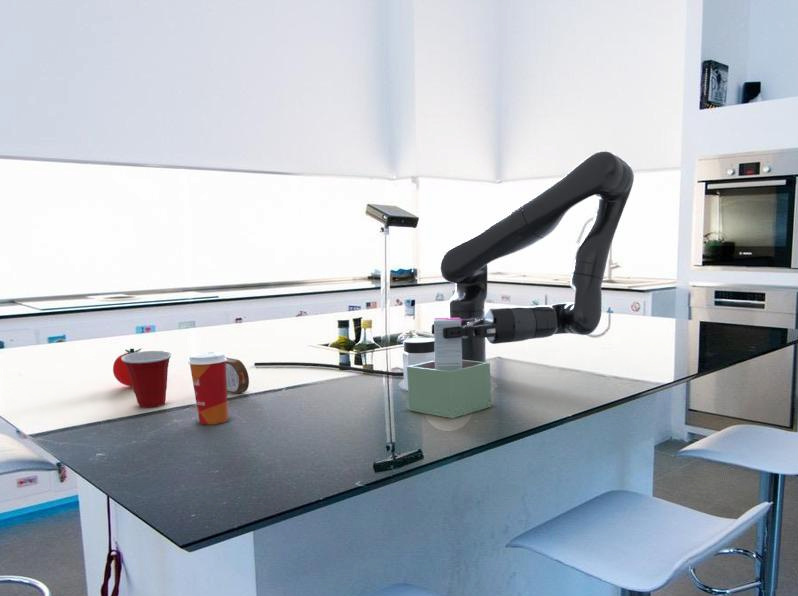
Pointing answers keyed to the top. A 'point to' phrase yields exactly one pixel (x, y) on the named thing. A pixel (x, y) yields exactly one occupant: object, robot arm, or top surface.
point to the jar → (417, 353)
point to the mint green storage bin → (449, 389)
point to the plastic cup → (148, 376)
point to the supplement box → (447, 345)
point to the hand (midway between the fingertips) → (437, 331)
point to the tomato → (122, 369)
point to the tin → (236, 376)
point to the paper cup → (210, 386)
